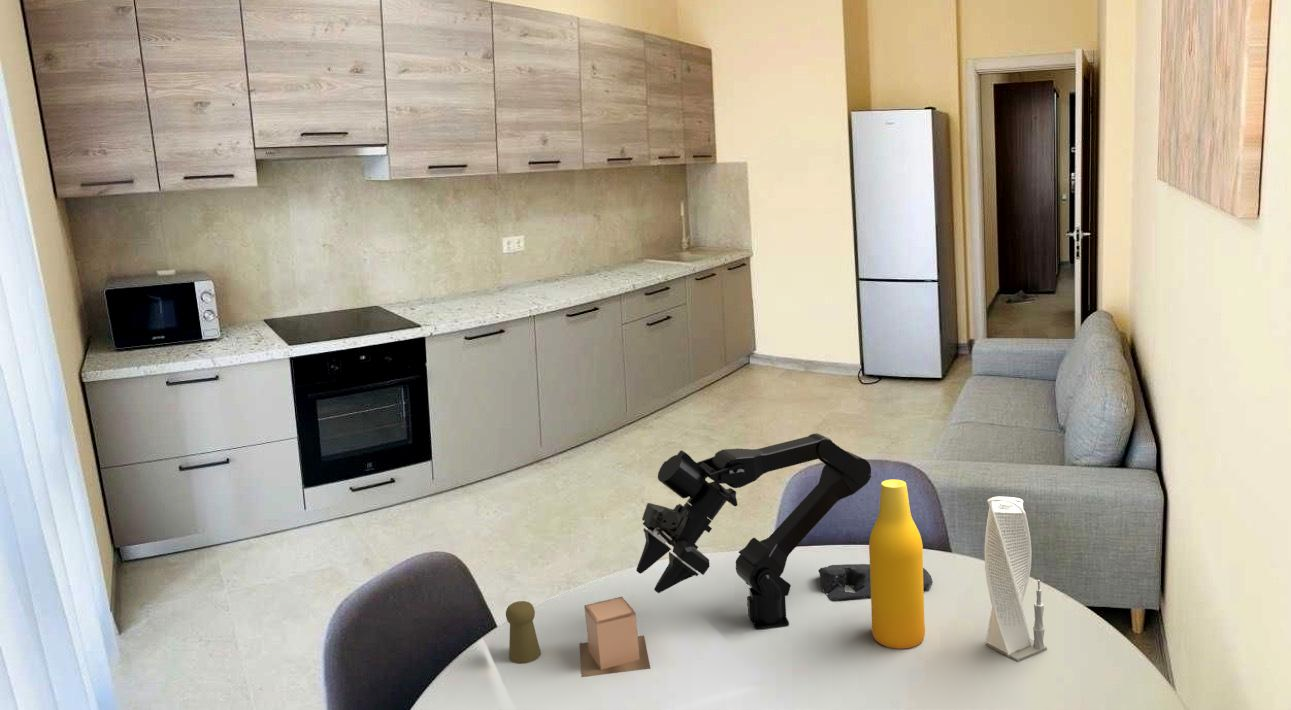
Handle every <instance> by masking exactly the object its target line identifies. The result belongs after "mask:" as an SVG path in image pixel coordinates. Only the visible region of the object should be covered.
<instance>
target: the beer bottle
mask: <svg viewBox="0 0 1291 710" xmlns="http://www.w3.org/2000/svg"><path fill="white" fill-rule="evenodd" d="M880 486H881V487H880V496H879V497H880V498H879V509H878V510H879V511H878V516H877V519H876V521H875V523H874V526H872V527H873V528H872V529H871V533H870V536H869V541H868V542H869V543H868V550H869V551H868V552H869V564H870V582H871V597H870V603H871V606H870V609H871V631H872V636H873V639H875V641H877V642H878V643H879V644H880V645H882V646H884V647H887V648H892V649H900V650H901V649H910V648H914V647H916V646H919V645H920V644H921V643H922V642H923V641H924V638H925V636H926V623H925V601H924V600H925V598H924V597H925V596H924V593H925V592H924V589H925V588H923V568H924V555H923V553H924V552H923V551H924V547H923V541H922V536H921V533H920V531H919V529H918V527H917V525H916V523H915V521H914V519H913V517H912V513H911V507H910V502H909V500H910V499H909V493H908V492H909V491H908V486H907V482H906V481H904V480H901V479H885V480H884V481H881V485H880Z"/></svg>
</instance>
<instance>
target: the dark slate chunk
mask: <svg viewBox="0 0 1291 710" xmlns="http://www.w3.org/2000/svg"><path fill="white" fill-rule="evenodd" d="M818 572H819V581H820V585H821V588H822V591H823V592H824V594H825V595H826V596H827V598H829V600H831V601H839V602H840V601H842V600H856V599H857V600H858V599H860V600H862V599H868V598H871V582H870V563H869V564H866V563H858V564H857V563H856V564H850V563H849V564H848V563H847V564H846V563H845V564H831V565H828V566H824V567H823V566H822V567H820V568H819V569H818ZM932 585H933V579H932V575H931V574H930V572H929V571H928V570H927V569H926V568H925V567H923V588H924V589H928V588H931V587H932ZM845 586H851V587H852V589H853V591H854V592H851V591H846V589H845Z"/></svg>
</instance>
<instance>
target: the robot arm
mask: <svg viewBox="0 0 1291 710" xmlns="http://www.w3.org/2000/svg"><path fill="white" fill-rule="evenodd" d="M815 460H819V461H820V462H821V463H822V464H824V466H823V467H822V471H821V474H820V477H819V481H818V483H817V485H815V487H814V488H813V489H812V490H811V491H809V493H808V494H807V496H805V498H803V500H802V501H801V502H800V503H799V504H798V505H797V506H796V507H795V509H793V510H792V512H791V513H790V514H789V515H788V516H787V517H786V518H785V519H784V520H783V521H782V522H781V523H780V524H779V526H778V527H777V528H776V529H775V530H774V531H773V532H772V533H771V534H770V535H769V536H767V538H764V539H762V540H758V539H757V538H756V537H752V538H751V539H750V540H749V541H748V543H747V544H746V546H745V547H744V548H742V549H741V550H738V553H739V555H738V557H737V558H736V561H735V572H736V574H737V575H738V577H740V579H742V580H743V581H744V583H745V585H747V586H749V588H748V591H749V595H747V596H746V606H747V618H748V619H749V621H750V622H751V623H752V625H753V627H754V629H756V630H758V629H760V630H761V629H768V628H777V627H783V626H789V625H790V621H789V620H788V618H787V605H786V604H787V603H786V597H787V596H789V594H790V590H791V583H789V582H788V581H786V579H784V578H782V577H781V576H782V574H783V573H784V570H785V568H786V563H787V559H788V557H789V555H790V554H791V553H792V552H793V551H794V550H795V549H796V548H797V547H798V545H799V544H800V543H801V542H802V541H803V540H804V539H805V538H806V537H807V535H809V533H810V532H811V531H812V530H813V529H815V527H816V526H817V525H818V523H820V521H821V520H822V519H823V518H824V517H825V516H826V515H827V514H828V513H829V511H831V509H832V508H833V507H834V506H835V505H836V504H837V503H838V502H839V501H841V500H843V499H845V498H848V497H850V496H852V495H855V494H856V493H857V492H859V491H860V490H861V489H863V488H864V487H865V486H866V485H867V484H868V483H869V482H870V480H871V478H872V467H871V464H870V463H869V461H868V460H867V459H865V458H863V457H861V456H859V455H857V454H854V453H852V452H850V451H848V450H844V448H841V447H840V446H839V445H837V444H836V443H835V442H833V440H831V438H829V437H826V436H824V435H822V434H820V433H811V434H810V435H808V436H804V437H801V438H797V439H792V440H788V441H784V442H780V443H776V444H772V445H768V446H764V447H760V448H754V449H753V448H752V449H751V448H725V449H721V450H718V451H717V452H716V453H715V454H714V456H712V457H708V458H705V459H703V460H700V461H697V462H696V461H695V460H694V459H693V458H692V457H691V456H690V454H688V453H687V452H686V451H684V450H679V451H678V453H677V454H676V455H673V456H671V457H669V458H668V459H667V460H665V461H664V462H663V463H662V465H661V467H660V468H659V470H658V473H657V480H658V482H660V483H661V484H663V485H664V486H666V488H668V489H670V490H671V491H672V492H674V493H675V494H676V495H677V496H679V497H680V499H681V498H682V499H686V498H687V500H686V502H685V503H684V505H682V504H681V503H679V504H677V505H675V507H673V508H670V507H666V506H663V505H658V504H655V503H652V502H647V504H646V505H645V509H644V512H643V515H642V518H641V521H643V523H642V525H643V526H644V527H645V528H644V527H643V530H642V531H643V532H644V536H645V543H644V547H643V550H642V553H641V556H640V559H639V561H638V564H637V567H636V569H635V571H636V572H637V573H638V574H642V573H644V572H645V571H647V570H648V569H649V568H651V567H652V566H653V565H654V564H655V563H657V562H658V561H659V560H660V559H662V558H663V557H664V556H665V555H666V554H667V553H668V565H667V566H666V568H665V570H664V571H663V572H662V574H661V576H660V578H659V579H658V580H657V582H656V585H655V587H654V588H653V589H654V591H655V592H656V593H658V594H660V593H662V592H664V591H666V590H668V589H670V588H671V587H673V586H675V585H677V584H680V583H681V582H683V581H685V580H687V579H689V578H692V577H694V576H695V577H698V575H700V574H701V575H702V576H704V575H705V573H706V572H707V571H708V569H710V565H711V564H710V559H709V558H708V557H707V556H705V555H704V554H703V553H702V552H701V551H700V550H699V549H698V548H699V546H698V545H697V544H696V543H697V542H698V540H699V539H700V538H701V537H702V535H703V534H704V533H705V532H706V533H708V534H709V533H710V532H711V531H712V529H713V527H711V526H710V524H711V523H712V521H713V520H714V519H715V517H716V516H717V515H718V514H719V512H720V511H721V509H722V508H723V507H724V505H725V504H726V503H727V502H728V503H730V504H731V505H732V506H733V507H737V506H738V500H737V491H736V490H735V489H740V488H742V487H743V488H744V487H745V486H747V485H749V484H751V483H754V482H756V481H757V480H759V478H761V476H763V475H765V474H766V473H770V472H773V471H777V470H781V469H786V468H788V467H792V466H797V465H799V464H805V463H807V462H808V463H809V462H811V461H815ZM707 478H709V479H710V480H712V481H710V482H708V481H707ZM723 484H725V485H727V486H729V488H726V487H724V486H723ZM666 543H667V544H666ZM670 546H672V548H671V547H670ZM671 550H672V552H671ZM674 554H675V555H674Z"/></svg>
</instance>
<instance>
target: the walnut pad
mask: <svg viewBox="0 0 1291 710" xmlns="http://www.w3.org/2000/svg"><path fill="white" fill-rule="evenodd" d="M638 646H639V658H640V660H636V661H632V662H628V663H624V664H621V665H617V666H613V667H609V668H606V669H602V670H601V669H600V667H599V666H598V664H597V663H596V661H595V660H594V658H593V657H592V655H591V654H590V652H589V648H588V641H587V642H581V643H580V642H579V655H580V656H579V657H580V672H581V678H583V677H584V678H585V677H586V678H587V677H593V676H602V675H603V676H604V675H610V674H617V673H627V672H633V671H643V670H649V669H651V665H650V664H651V663H650V660H649V659H650V658H649V654H648V649H647V648H648V647H647V643H646V640H645V635H638Z"/></svg>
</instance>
